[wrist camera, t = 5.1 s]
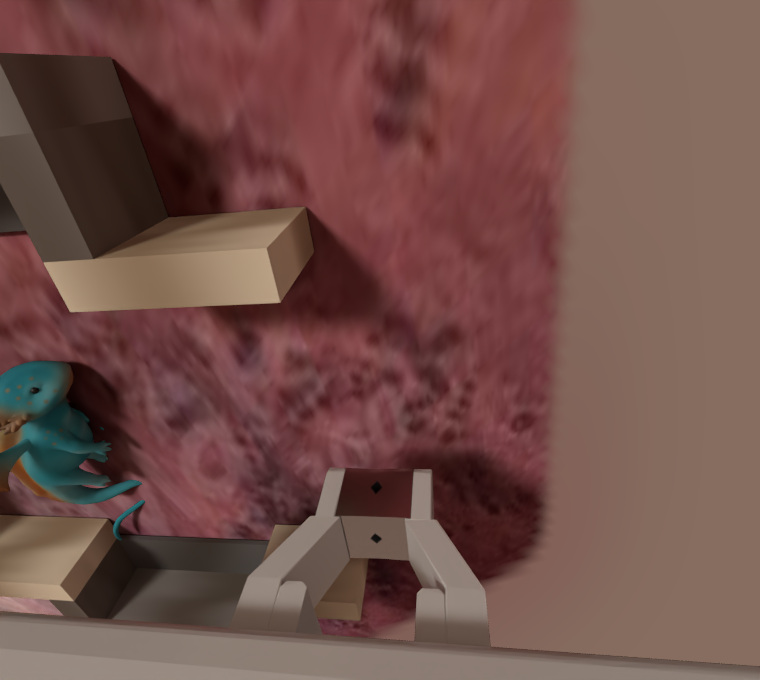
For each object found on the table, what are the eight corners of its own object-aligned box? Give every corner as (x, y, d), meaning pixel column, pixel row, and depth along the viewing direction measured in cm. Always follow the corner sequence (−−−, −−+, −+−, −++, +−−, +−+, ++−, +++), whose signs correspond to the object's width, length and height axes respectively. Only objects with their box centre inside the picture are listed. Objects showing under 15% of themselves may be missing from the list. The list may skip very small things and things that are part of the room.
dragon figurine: (243, 488, 16) (-9, 417, 11) (121, 612, 17) (-171, 605, 12) (216, 382, 21) (32, 297, 16) (121, 484, 22) (-85, 436, 16)
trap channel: (272, 34, 9) (194, 17, 6) (379, 590, 20) (369, 678, 17) (-383, 127, 12) (-654, 146, 9) (30, 570, 23) (-29, 643, 20)
